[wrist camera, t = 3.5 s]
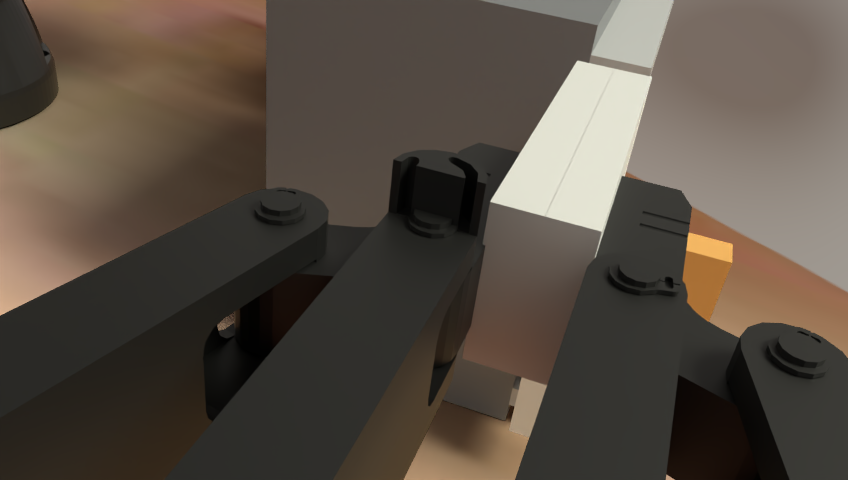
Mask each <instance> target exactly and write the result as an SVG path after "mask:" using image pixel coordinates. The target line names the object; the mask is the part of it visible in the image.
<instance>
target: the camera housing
mask: <svg viewBox="0 0 848 480" xmlns="http://www.w3.org/2000/svg"><path fill="white" fill-rule="evenodd" d="M673 2H674V0H266V189H272V188H276V187H284V188H287V189H289V188H293V189H297V190H300V191H303V192H306V193H309V194H312V195H314V196H315V197H317V198H319V199H320V200H322V201H323V202H324V203H325V205H326V207H327V209H328V210H329V217H328V224H329V225H340V226H351V227H376V226H377V225H378V223H379V222H380V221H381V220H382V219H383V217H384V216H385V215H386V214H387V213H388V209H389V198H390V188H391V178H392V168H393V159H395V158H397V157H398V156H400V155H402V154H403V153H407V152H412V151H416V150H440V151H447V152H453V153H456V154H457V153H458V152H459V151H460V150H462V149H465V148H467V147H470V146H472V145H474V144H477V143H479V142H480V143H484V144H488V145H492V146H496V147H500V148H504V149H508V150H512V151H516V152H520V153H521V151H522V149H523V148H524V146H525V144H526V143H527V141H528V140H529V138H530V136H531V135H532V133H533V132H534V130H535V128H536V127H537V125H538V123H539V122H540V120H541V119H542V117H543V115H544V114H545V112H546V111H547V109H548V107H549V106H550V104H551V102H552V101H553V99H554V98H555V96H556V94H557V93H558V91H559V90H560V88H561V86H562V85H563V83H564V81H565V80H566V78H567V77H568V75H569V73H570V72H571V70H572V68H573V67H574V65H575V64H576V62H577V61H582V62H586V63H591V64H595V65H600V66H605V67H609V68H614V69H618V70H623V71H627V72H632V73H637V74H641V75H646V76H650V75H651V72H652V69H653V66H654V63H655V59H656V56H657V53H658V50H659V47H660V44H661V40H662V37H663V34H664V31H665V28H666V24H667V21H668V18H669V15H670V11H671V9H672V5H673ZM465 340H466V337H465V339H464V341H463V343H462V345H461V347H460V349H459V351H458V353H457V356H456V362H455V368H454V374H453V380H452V382H451V384H450V386H449V388H448V390H447V392H446V394H445V396H444V398H443V400H444V401H447V402H450V403H453V404H456V405H459V406H462V407H465V408H468V409H471V410H474V411H477V412H480V413H483V414H486V415H489V416H492V417H495V418H498V419H501V420H504V421H505V419H506V417H507V414H508V411H509V409H510V406H514V407H515V403H516V399H517V395H518V390H519V386H520V382H521V378H522V377H519V376H516V375H513V374H510V373H507V372H503V371H500V370H497V369H494V368H491V367H488V366H485V365H481V364H478V363H475V362H472V361H469V360H466V359H463V358H462V357H463V351H464V346H465Z"/></svg>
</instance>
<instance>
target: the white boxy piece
mask: <svg viewBox="0 0 848 480" xmlns="http://www.w3.org/2000/svg"><path fill="white" fill-rule="evenodd" d="M687 239H688V241H687V249H686V257H685V264H684V272H683V280H682V281H683V282H684V283H685V285H686V289H687V293H688V298H687V303H688V304H689V305H690V306H691V307H692V308H693V310H694V311H695V312H696V313H698V314H699V315H700V316H701V317H703V318H704V319H705V320H706V321H708V322H709V320H710V317H711V315H712V312H713V310H714V307H715V305H716V302H717V300H718V297H719V295H720V292H721V290H722V287H723V284H724V282H725V279H726V277H727V274H728V272H729V269H730V267H731V264H732V246H733V244H730V243H726V242H722V241H719V240H715V239H711V238H707V237H703V236H700V235H696V234H692V233H688V238H687ZM546 387H547V385H544V384H541V383H538V382H535V381H532V380H528V379H525V378H521V382H520V386H519V390H518V395H517V399H516V403H515V407H514V411H513V415H512V419H511V424H510V428H509V431H511V432H514V433H517V434H520V435H523V436H526V437H530V434H531V431H532V428H533V426H534V423H535V420H536V417H537V414H538V411H539V408H540V405H541V402H542V399H543V396H544V393H545V390H546Z"/></svg>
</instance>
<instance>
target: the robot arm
mask: <svg viewBox="0 0 848 480" xmlns="http://www.w3.org/2000/svg"><path fill="white" fill-rule="evenodd" d="M651 79H652V77H650V76H646V75H641V74H637V73H632V72H627V71H623V70H618V69H614V68H609V67H605V66H600V65H595V64H591V63H586V62H582V61H577V62H576V64H575V65H574V67H573V68H572V70H571V72H570V73H569V75H568V77H567V78H566V80H565V81H564V83H563V85H562V86H561V88H560V90H559V91H558V93H557V94H556V96H555V98H554V99H553V101H552V102H551V104H550V106H549V107H548V109H547V111H546V112H545V114H544V115H543V117H542V119H541V120H540V122H539V123H538V125H537V127H536V128H535V130H534V132H533V133H532V135H531V136H530V138H529V140H528V141H527V143H526V144H525V146H524V148H523V149H522V151H521V153H520V152H516V151H512V150H508V149H504V148H500V147H496V146H492V145H488V144H484V143H480V142H479V143H477V144H474V145H472V146H470V147H467V148H465V149H462V150H460V151H459V152H458V153H457V154H456V153H453V152H447V151H440V150H416V151H412V152H407V153H403V154H402V155H400V156H398V157H397V158H395V159H393V168H392V178H391V188H390V198H389V209H388V213H387V214H386V215H385V216H384V217H383V219H382V220H381V221H380V222H379V223H378V225H377V226H376V227H351V226H340V225H329V224H328V217H329V210H328V209H327V207H326V205H325V203H324V202H323V201H322V200H320V199H319V198H317V197H315V196H314V195H312V194H309V193H306V192H303V191H300V190H297V189H293V188H289V189H287V188H284V187H276V188H272V189H262V190H258V191H255V192H252V193H249V194H246V195H244V196H242V197H240V198H238V199H236V200H234V201H232V202H230V203H228V204H226V205H224V206H221V207H219V208H217V209H215V210H213V211H211V212H209V213H207V214H205V215H203V216H201V217H199V218H197V219H195V220H193V221H191V222H189V223H187V224H185V225H183V226H181V227H179V228H177V229H175V230H173V231H171V232H169V233H167V234H165V235H163V236H161V237H159V238H157V239H155V240H153V241H151V242H149V243H147V244H145V245H142V246H140V247H138V248H136V249H134V250H132V251H130V252H128V253H126V254H124V255H122V256H120V257H118V258H116V259H114V260H112V261H110V262H108V263H106V264H104V265H102V266H100V267H98V268H96V269H94V270H92V271H90V272H88V273H86V274H84V275H82V276H80V277H78V278H76V279H74V280H72V281H70V282H68V283H65V284H63V285H61V286H59V287H57V288H55V289H53V290H51V291H49V292H47V293H45V294H43V295H41V296H39V297H37V298H35V299H33V300H31V301H29V302H27V303H25V304H23V305H21V306H19V307H17V308H15V309H13V310H11V311H9V312H7V313H5V314H3V315H1V316H0V480H403V479H404V477H405V475H406V473H407V471H408V469H409V467H410V465H411V463H412V461H413V459H414V457H415V455H416V453H417V451H418V449H419V447H420V445H421V443H422V441H423V439H424V437H425V435H426V433H427V431H428V429H429V427H430V425H431V422H432V420H433V418H434V416H435V414H436V412H437V410H438V408H439V406H440V404H441V402H442V400H443V398H444V396H445V394H446V392H447V390H448V388H449V386H450V384H451V382H452V380H453V374H454V368H455V362H456V356H457V353H458V351H459V349H460V347H461V345H462V343H463V341H464V339H465V337H466V340H465V346H464V351H463V357H462V358H463V359H466V360H469V361H472V362H475V363H478V364H481V365H485V366H488V367H491V368H494V369H497V370H500V371H503V372H507V373H510V374H513V375H516V376H519V377H522V378H525V379H528V380H532V381H535V382H538V383H541V384H544V385H547V387H546V390H545V393H544V396H543V399H542V402H541V405H540V408H539V411H538V414H537V417H536V420H535V423H534V426H533V428H532V431H531V434H530V437H529V440H528V443H527V446H526V449H525V452H524V455H523V458H522V461H521V464H520V467H519V470H518V473H517V476H516V479H515V480H666V474H667V475H668V476H670V477H672V478H673V479H675V480H848V358H847V357H846V356H845V354H844V353H843V352H842V351H841V350H839V349H838V348H836V347H835V346H834V345H832V344H831V343H830V342H828V341H827V340H826V339H824V338H823V337H821V336H819V335H817V334H815V333H811V331H808V330H806V329H803V328H800V327H794V326H791V325H787V324H783V323H760V324H756V325H753V326H750V327H748V328H747V329H746V330H745V331H744V333H743V334H742V335H741V336H740V338H738V337H736V336H734V335H732V334H730V333H728V332H726V331H724V330H722V329H720V328H718V327H717V326H715V325H713V324H711V323H710V322H708V321H706V320H705V319H704V318H703V317H701V316H700V315H699V314H698V313H696V312H695V311H694V310H693V308H692V307H691V306H690V305H689V304H688V303H687V298H688V293H687V289H686V285H685V283H684V282H683V281H682V280H683V272H684V264H685V257H686V249H687V241H688V239H687V238H688V233H689V224H690V218H691V210H692V207H691V205H690V204H689V202H688V201H687V199H686V198H685V196H684V195H683V193H682V191H680V190H677V189H673V188H668V187H665V186H660V185H657V184H653V183H648V182H645V181H641V180H637V179H633V178H629V177H625V173H626V170H627V166H628V162H629V159H630V155H631V152H632V148H633V144H634V141H635V137H636V133H637V130H638V126H639V123H640V119H641V116H642V112H643V108H644V105H645V101H646V98H647V94H648V90H649V86H650V83H651ZM57 93H58V82H57V75H56V68H55V63H54V59H53V56H52V54H51V52H50V50H49V48H48V47H47V46H46V45H45V44H44V43H43V42H42V39H41V37H40V34H39V31H38V29H37V27H36V25H35V22H34V20H33V18H32V16H31V14H30V12H29V10H28V8H27V6H26V4H25V2H24V0H0V128H3V127H6V126H9V125H12V124H15V123H18V122H20V121H23V120H25V119H27V118H29V117H31V116H33V115H35V114H37V113H39V112H40V111H42V110H43V109H45V108H46V107H47V106H49V105H50V104H51V103H52V102H53V100H54V99H55V98H56V96H57ZM233 312H234V323H233V324H232V325H230V326H229V327H227V328H226V329H224V330H221V331H218V328H217V324H218V323H219V322H220V321H222V320H223V319H224V318H225V317H227V316H228V315H230V314H231V313H233Z"/></svg>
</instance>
